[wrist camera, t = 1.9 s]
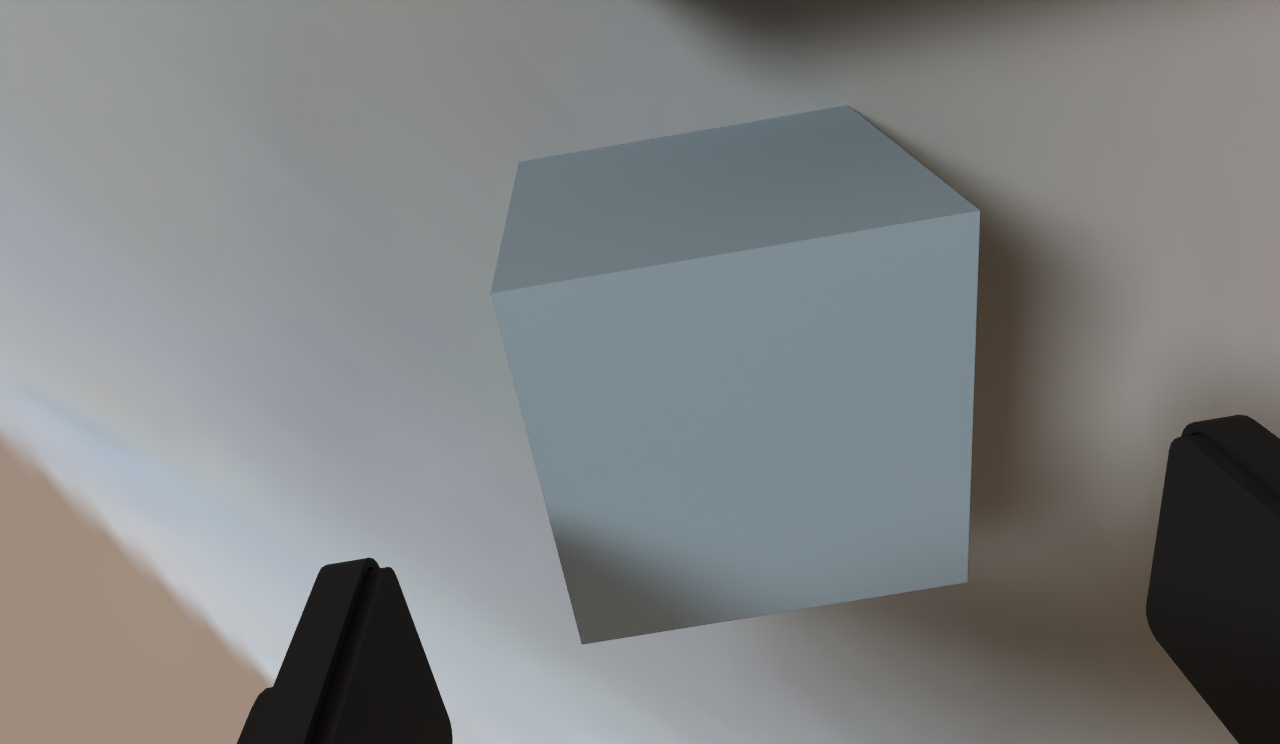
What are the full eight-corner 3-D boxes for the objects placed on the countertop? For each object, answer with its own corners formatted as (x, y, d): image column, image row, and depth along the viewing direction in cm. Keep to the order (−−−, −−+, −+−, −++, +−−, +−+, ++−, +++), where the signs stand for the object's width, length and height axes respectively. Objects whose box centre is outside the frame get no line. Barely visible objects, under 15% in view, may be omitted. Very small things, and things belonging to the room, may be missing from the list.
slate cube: (519, 161, 16) (490, 293, 11) (846, 104, 16) (979, 210, 11) (580, 434, 19) (581, 644, 14) (858, 388, 19) (967, 582, 13)
